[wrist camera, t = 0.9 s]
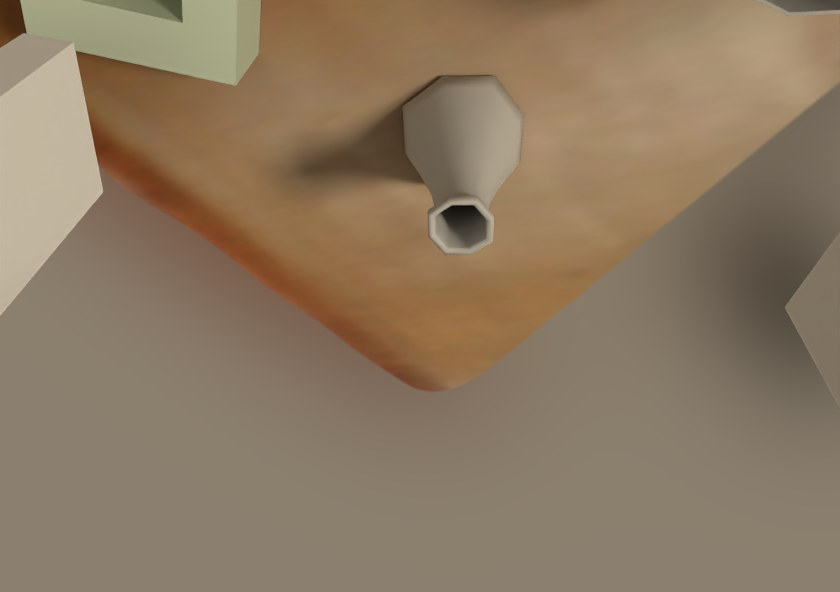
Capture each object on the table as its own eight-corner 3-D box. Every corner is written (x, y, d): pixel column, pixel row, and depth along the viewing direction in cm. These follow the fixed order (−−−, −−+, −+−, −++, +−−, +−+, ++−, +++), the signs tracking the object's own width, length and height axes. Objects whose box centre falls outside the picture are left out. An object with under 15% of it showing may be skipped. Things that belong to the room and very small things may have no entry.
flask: (506, 52, 34) (516, 137, 27) (538, 167, 39) (555, 268, 31) (382, 95, 36) (358, 185, 29) (425, 199, 41) (415, 302, 33)
